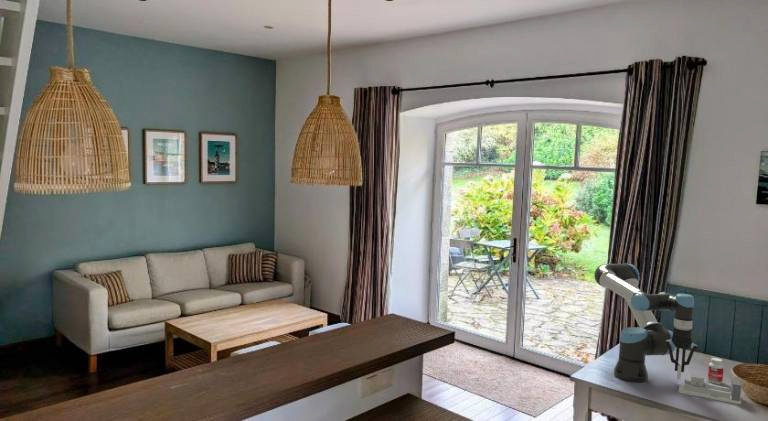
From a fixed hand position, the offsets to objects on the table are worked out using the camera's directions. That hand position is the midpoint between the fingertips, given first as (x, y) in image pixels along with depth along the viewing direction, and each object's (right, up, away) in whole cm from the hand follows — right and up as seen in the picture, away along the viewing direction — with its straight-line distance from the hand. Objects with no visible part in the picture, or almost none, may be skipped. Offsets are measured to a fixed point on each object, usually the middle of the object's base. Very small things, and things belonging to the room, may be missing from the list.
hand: (678, 378), depth 263 cm
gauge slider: (+7, -4, -5) cm, 9 cm away
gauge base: (+11, -6, -5) cm, 13 cm away
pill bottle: (+23, -5, +11) cm, 26 cm away
